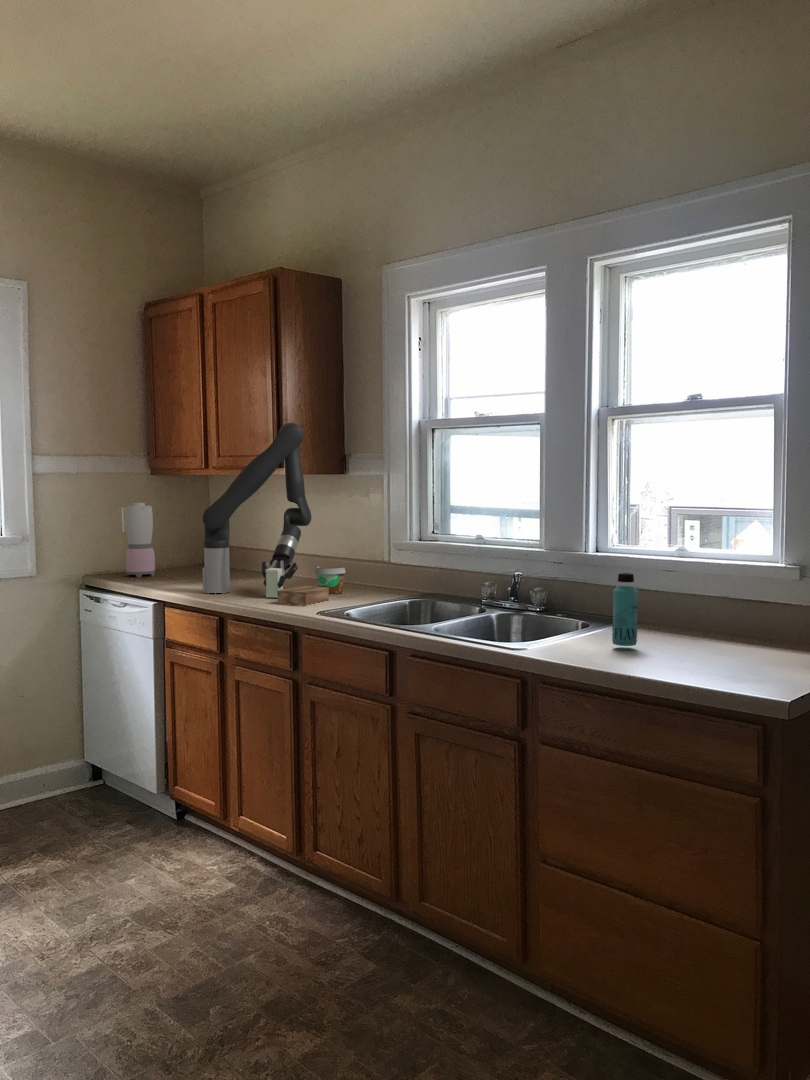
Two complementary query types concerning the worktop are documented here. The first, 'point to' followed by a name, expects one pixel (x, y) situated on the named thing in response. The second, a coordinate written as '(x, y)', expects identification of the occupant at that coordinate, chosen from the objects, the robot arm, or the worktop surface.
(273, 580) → the tea tin
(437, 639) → the worktop surface
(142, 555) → the blender
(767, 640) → the worktop surface
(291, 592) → the walnut box
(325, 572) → the food container
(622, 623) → the beverage bottle
